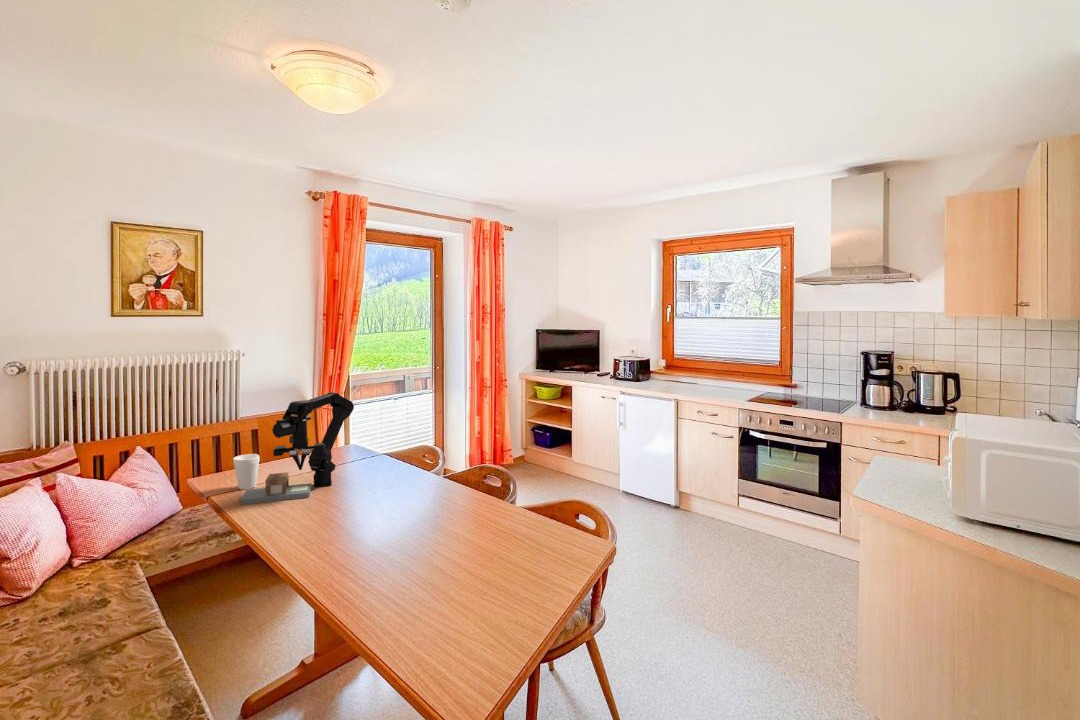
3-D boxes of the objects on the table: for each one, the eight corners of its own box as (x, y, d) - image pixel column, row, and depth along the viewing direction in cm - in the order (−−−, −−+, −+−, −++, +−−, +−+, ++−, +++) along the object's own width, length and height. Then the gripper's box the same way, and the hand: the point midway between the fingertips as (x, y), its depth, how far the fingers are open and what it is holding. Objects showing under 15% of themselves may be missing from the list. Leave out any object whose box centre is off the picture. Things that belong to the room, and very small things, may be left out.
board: (311, 487, 207) (311, 482, 207) (309, 497, 196) (309, 492, 196) (246, 494, 198) (246, 489, 198) (240, 504, 187) (240, 499, 187)
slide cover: (288, 485, 203) (288, 472, 202) (285, 493, 194) (285, 479, 193) (269, 487, 200) (269, 474, 200) (265, 495, 191) (265, 481, 191)
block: (284, 493, 200) (284, 480, 200) (283, 497, 196) (282, 484, 195) (272, 494, 198) (272, 481, 198) (270, 498, 194) (270, 485, 194)
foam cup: (239, 492, 201) (238, 461, 200) (230, 487, 206) (229, 457, 205) (264, 486, 208) (263, 456, 207) (254, 481, 214) (253, 452, 213)
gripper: (325, 426, 209) (326, 462, 210) (276, 429, 202) (277, 466, 204) (324, 432, 199) (325, 469, 200) (272, 435, 192) (273, 474, 193)
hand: (300, 469), depth 199 cm, fingers closed
